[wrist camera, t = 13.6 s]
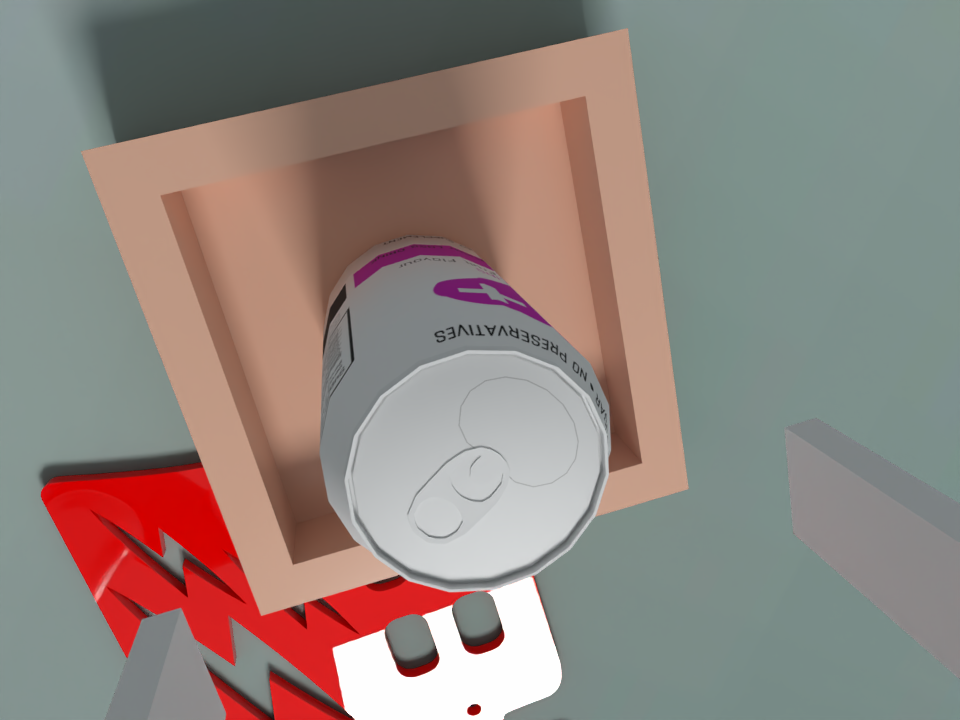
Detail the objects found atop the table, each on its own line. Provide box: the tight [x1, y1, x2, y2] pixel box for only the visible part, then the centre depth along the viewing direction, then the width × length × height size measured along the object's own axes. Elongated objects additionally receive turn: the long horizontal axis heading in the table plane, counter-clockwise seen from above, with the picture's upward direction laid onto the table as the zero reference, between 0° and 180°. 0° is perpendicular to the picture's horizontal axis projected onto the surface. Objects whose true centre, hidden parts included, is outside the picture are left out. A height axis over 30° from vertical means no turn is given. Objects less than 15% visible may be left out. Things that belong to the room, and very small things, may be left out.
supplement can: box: [320, 235, 611, 592], centre depth 26 cm, size 8×8×15 cm
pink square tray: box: [81, 28, 688, 616], centre depth 32 cm, size 20×20×4 cm
